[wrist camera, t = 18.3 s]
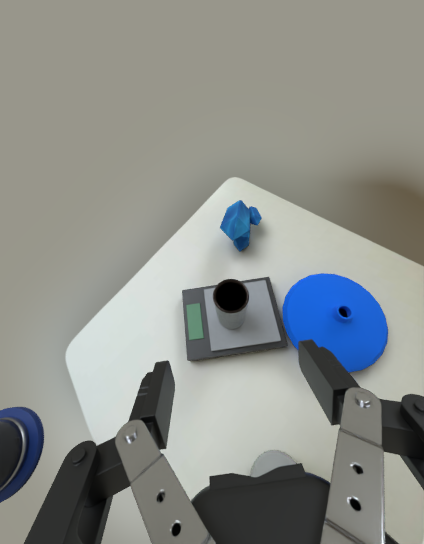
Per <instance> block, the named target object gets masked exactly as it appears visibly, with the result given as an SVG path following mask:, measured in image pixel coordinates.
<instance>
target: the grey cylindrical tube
mask: <svg viewBox="0 0 424 544" xmlns="http://www.w3.org/2000/svg"><path fill="white" fill-rule="evenodd" d="M213 302H214V305H215V309H216V313H217V317H218V320H219V322H220V323H221V325H222V326H224V327H225V328H227V329H236V328H238V327H240V326H241V325H242V324H243V322H244V320H245V316H246V312H247V307H248V302H249V292H248V289H247V287H246V286H245V285H244V284H243V283H242V282H240V281H238V280H235V279H227V280H224V281H222V282H220V283H219V284H218V285H217V286H216V287H215V289H214V291H213Z"/></svg>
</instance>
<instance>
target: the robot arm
mask: <svg viewBox="0 0 424 544" xmlns="http://www.w3.org/2000/svg"><path fill="white" fill-rule="evenodd" d="M298 347H299V365H300V368H301V371H302V373H303V375H304V377H305V378H306V380H307V382H308V384H309V385H310V387H311V389H312V391H313V393H314V394H315V396H316V398H317V400H318V402H319V403H320V405H321V407H322V409H323V411H324V412H325V414H326V416H327V418H328V420H329V421H330V423H331V425H338V424H339V425H340V428H339V432H338V438H337V444H336V451H335V457H334V464H333V470H332V477H331V483H329V482H328V481H326V480H325V479H323V478H321V477H319V476H317V475H314V474H311V473H307V472H305V471H304V468H303V466H302V463H300V464H293V465H286V466H279V467H277V468H275V469H273V470H271V471H269V472H267V473H265V474H263V475H261V476H259V477H251V476H245V475H239V474H234V473H230V474H223V475H216V476H210V485H209V486H207V487H206V488H204V489H203V490H201V491H200V492H199V493H198V494H197V495H196V496H195V497H194V498H193V499H192V500H191V501H190V499H189V498H188V496H187V494H186V492H185V491H184V489H183V487H182V485H181V484H180V482H179V480H178V478H177V477H176V475H175V473H174V471H173V470H172V468H171V466H170V464H169V463H168V461H167V459H166V457H165V456H164V454H161V452H160V449H166V446H167V439H168V432H169V426H170V419H171V412H172V405H173V399H174V392H175V382H174V377H173V374H172V370H171V366H170V363H169V361H162V362H156V363H155V366H154V370H153V372H149V373H147V374H146V376H145V377H144V378H143V380H142V382H141V385H140V389H139V391H138V394H137V397H136V400H135V403H134V406H133V409H132V412H131V415H130V418H129V421H128V423H126V424H125V425H124V426H123V427H122V428H121V429H120V430H119V431H118V433H117V435H116V437H114V438H112V439H110V440H108V441H106V442H104V443H102V444H100V445H98V446H96V444H95V443H94V442H93V441H85V442H82V443H80V444H78V445H77V446H75V447H74V448H73V449H72V450H71V451H70V452H69V453H68V454H67V456H66V457H65V459H64V461H63V463H62V465H61V467H60V469H59V471H58V473H57V475H56V478H55V480H54V482H53V484H52V486H51V488H50V490H49V492H48V494H47V496H46V498H45V501H44V503H43V505H42V507H41V509H40V511H39V513H38V515H37V517H36V520H35V522H34V524H33V526H32V528H31V530H30V532H29V534H28V536H27V538H26V540H25V542H24V544H101V541H102V537H103V533H104V529H105V525H106V521H107V517H108V513H109V510H110V506H111V502H112V498H113V495H114V494H116V493H118V492H120V491H122V490H123V489H125V488H127V487H129V486H131V489H132V492H133V494H134V497H135V500H136V502H137V505H138V508H139V510H140V513H141V516H142V518H143V521H144V524H145V526H146V529H147V532H148V534H149V537H150V540H151V542H152V544H398V543H397V542H396V541H395V540H394V539H393V538H392V537H391V536H390V535H388V534H387V533H386V532H385V506H384V452H388V453H393V454H398V455H400V456H401V458H402V459H403V461H404V462H405V464H406V465H407V466H408V468H409V469H410V471H411V472H412V474H413V475H414V477H415V478H416V479H417V481H418V482H419V484H420V485H421V487H422V488H423V489H424V397H423V396H420V395H415V394H408V395H405V396H404V397H403V398H402V401H401V402H397V401H389V400H383V399H379V398H377V397H376V396H375V395H374V394H373V393H372V392H370V391H368V390H366V389H363V388H361V387H360V386H359V385H358V384H357V382H356V381H355V380H354V379H353V378H352V376H351V375H350V374H349V373H348V371H347V370H346V369H345V368H344V367H343V366H342V364H341V363H340V362H339V360H337V358H336V357H335V356H334V354H333V353H332V352H331V351H329V350H328V349H326V348H325V347H318V346H317V345H316V343H315V342H314V341H313V340H312V339H309V340H303V341H299V343H298ZM28 449H29V434H28V430H27V428H26V426H25V424H24V423H23V422H22V421H21V420H19V419H17V418H14V417H5V418H0V491H2V490H3V489H5V488H6V487H7V486H8V485H9V484H10V483H11V482H12V481H13V480H14V479H15V478H16V476H17V475H18V473H19V472H20V470H21V469H22V467H23V465H24V462H25V460H26V457H27V454H28Z"/></svg>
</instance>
